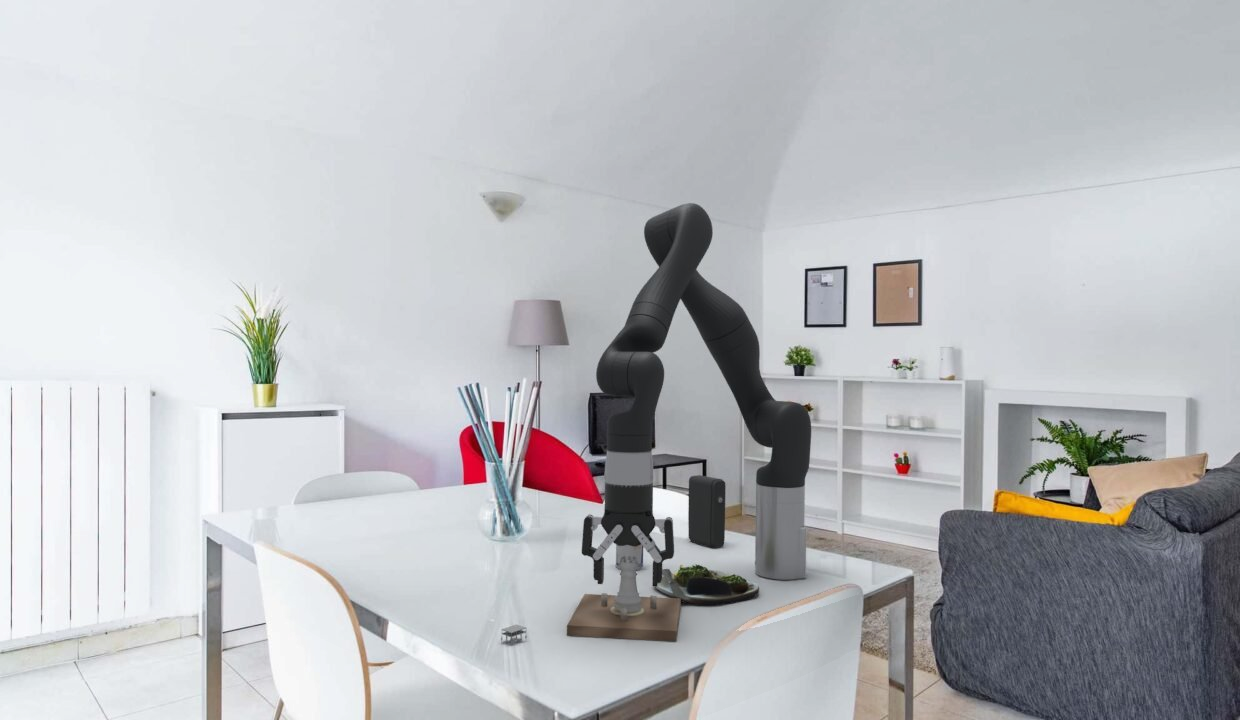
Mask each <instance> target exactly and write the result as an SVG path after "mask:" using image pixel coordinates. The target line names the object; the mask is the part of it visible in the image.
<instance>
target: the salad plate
mask: <svg viewBox="0 0 1240 720" xmlns="http://www.w3.org/2000/svg"><path fill="white" fill-rule="evenodd" d="M670 569H671V568H662V580H661V583H658V585H657V587H655V588H656V589H657V590H659V591H660V592H661V593H662V594H664V595H667V596H669V597H670V598H681V602H682V603H684V604H689V605H694V606H708V607H712V606H713V607H714V606H723V605H724V606H725V605H730V604H735V603H740V602H746V601H748V600H752V599H753V598H755V597H756V596H757V595H758V594H759V592H760V586H759V584H758V583H757V582H755V581H752V580H748V579H745V578H744V577H742V576H740V575H738V574H737V575H736V574H735V573H734V574H730V573H728V572H724V571H721V570H711V569H710V570H709V569H708V568H707V567H706V566H703V565H700V564H697V563H695V565H694V564H692V566H686V567H684V565H683V564H680V565H679V569H678V570H677V571H674V572H673V573H672V571H671V570H670Z"/></svg>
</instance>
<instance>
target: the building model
mask: <svg viewBox="0 0 1240 720" xmlns="http://www.w3.org/2000/svg"><path fill="white" fill-rule="evenodd" d="M501 631H502V632H501V635H502V636H501V638H500V642H501V643H503V636H505V643H508V637H509V638H510V646H513V637H514V638H515V644H516V645H517V643H518V642H517V641H518V636H520V643H522V642H523V641H522V639H523V636H522V635H523V634H527V627H525V626H522V625H519V624H516V623H515V624H514V625H510V626H508V627H503V628H502V629H501ZM503 631H504V632H503ZM526 641H527V635H525V642H526Z"/></svg>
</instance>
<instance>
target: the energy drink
mask: <svg viewBox="0 0 1240 720" xmlns="http://www.w3.org/2000/svg"><path fill="white" fill-rule="evenodd" d="M623 556H626V559H628V556H631V559H633V557H636V558H637V562H638V563H639V566H638V567H637V568H636V571H640V570H642V569H643V567H644V547H643V545H642V544H641V545H639V546H638V547H634V546H629V545H625V546H617V545H616V544H615V567H616V568H617V569H618V570H620V571H621V568H620V566H619V565H618V563H619V562H620V561H621V557H623Z"/></svg>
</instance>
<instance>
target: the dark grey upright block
mask: <svg viewBox="0 0 1240 720" xmlns="http://www.w3.org/2000/svg"><path fill="white" fill-rule="evenodd" d="M687 516H688V522H687V525H688V540H690V542H691V543H694V544H697V545H702V546H705V547H708V548H712V549H716V548H722V547H723V546H724V545H725V539H726V538H725V536H726V535H725V532H726V482H725V481H724V480H723V479H722V478H716V477H711V476H707V475H701V474H700V475H699V474H698V475H691V476H690V477H689V480H688V515H687Z"/></svg>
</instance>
